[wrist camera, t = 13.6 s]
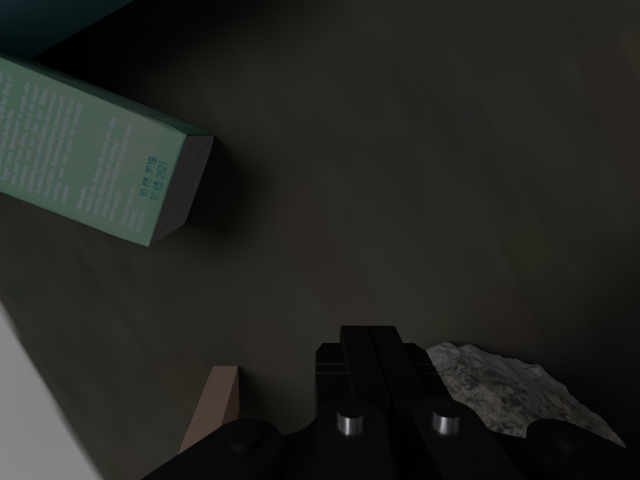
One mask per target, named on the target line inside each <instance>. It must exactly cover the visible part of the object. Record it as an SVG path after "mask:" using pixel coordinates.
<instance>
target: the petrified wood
mask: <svg viewBox="0 0 640 480" xmlns="http://www.w3.org/2000/svg"><path fill="white" fill-rule="evenodd" d="M426 352H427V354H428V355H429V357H430V359H431V361H432V363H433V365H434V366H435V368H436V370H437V371H438V374H439V375H440V377H441V379H442V380H443V382H444V384H445V386H446V388H447V389H448V391H449V393H450V395H451V396H452V398H453V400H456V401H458V402H461V403H463V404H465V405H467V406H468V407H470V408H471V409H473V410H474V411H475V412H476V413H477V414H478V415H479V417H480V418H481V419H482V421H483V422H484V424H485V425H486V426H487V428H488V429H489V430H491V431H495V432H499V433H503V434H508V435H513V436H518V437H523V438H525V437H526V431H527V427H528V425H529V424H530V423H531V422H533V421H535V420H539V419H557V420H562V421H566V422H570V423H573V424H575V425H578V426H580V427H582V428H585V429H587V430H589V431H591V432H593V433H595V434H597V435H599V436H602V437H604V438H606V439H608V440H610V441H612V442H614V443H616V444H619V445H621V446H623V447H625V448H626V446H625V444H624V443H623V441H622V440H621V439H620V438H619V437H618V436H617V434H616V433H615V432H614V431H613V430H612V429H611V428H610V426H609V425H608V424H607V423H606V422H605V421H604V420H603V419H602V418H601V417H600V416H599V415H597V414H595V413H592V412H591V411H590V410H589V409H587V408H586V407H585V406H584V405H582V404H580V403H578V401H577V399H576V398H574V397H573V396H572V395H570V394H569V392H568V390H567V388H566V386H565V385H563V384H561V383H559V382H557V381H556V380H555V379H554V378H552V377H551V376H550V375H549V374H547V373H546V372H545V371H544V369H543V368H542V367H541V366H540V365H539V364H532V365H530V364H526V363H523V362H521V361H520V360H518V359H516V358H515V359H511V358H502V357H501V356H500V355H494V354H490V353H487V352H484V351H482V350H480V349H478V348H477V347H475V346H473V345H471V344H466V345H463V346H460V347H457V346H454V345H453V344H451V343H448V342H444V343H441V344H438V345H435V346H433V347H430V348H428V349H427V350H426Z"/></svg>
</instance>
